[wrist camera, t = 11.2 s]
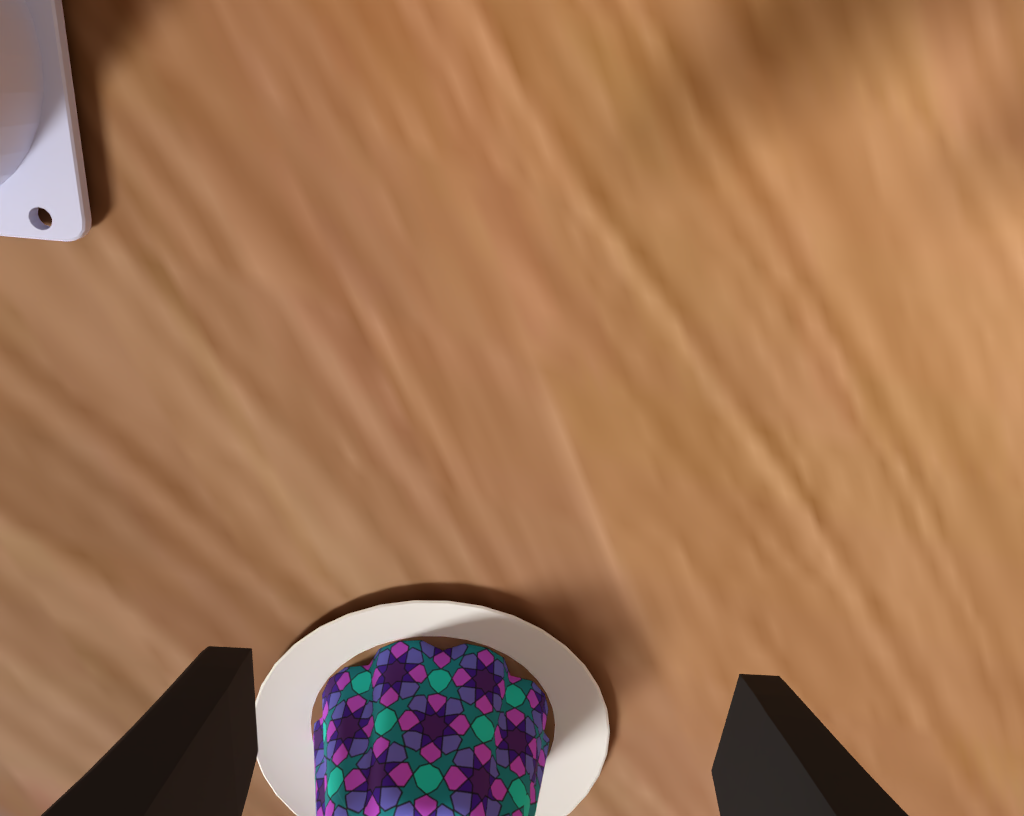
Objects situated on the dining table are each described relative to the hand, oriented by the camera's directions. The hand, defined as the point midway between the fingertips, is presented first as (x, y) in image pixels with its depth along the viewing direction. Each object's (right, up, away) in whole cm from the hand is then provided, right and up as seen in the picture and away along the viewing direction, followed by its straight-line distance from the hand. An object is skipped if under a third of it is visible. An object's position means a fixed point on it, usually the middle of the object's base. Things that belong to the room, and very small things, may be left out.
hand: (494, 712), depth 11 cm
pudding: (-2, -6, +15) cm, 16 cm away
